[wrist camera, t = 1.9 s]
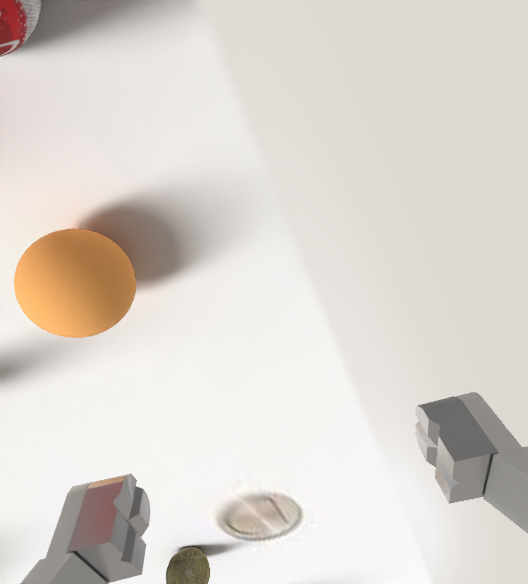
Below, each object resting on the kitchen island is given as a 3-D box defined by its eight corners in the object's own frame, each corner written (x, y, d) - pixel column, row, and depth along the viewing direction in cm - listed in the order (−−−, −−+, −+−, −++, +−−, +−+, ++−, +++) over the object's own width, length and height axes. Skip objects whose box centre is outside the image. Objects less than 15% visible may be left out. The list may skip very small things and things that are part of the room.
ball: (19, 226, 21) (-39, 279, 16) (119, 201, 21) (91, 246, 16) (71, 307, 25) (35, 371, 20) (157, 286, 25) (143, 345, 20)
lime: (162, 551, 44) (157, 603, 40) (196, 538, 44) (195, 589, 40) (183, 563, 47) (180, 613, 43) (216, 551, 46) (216, 600, 42)
